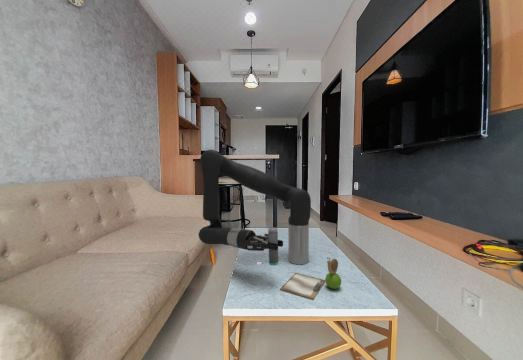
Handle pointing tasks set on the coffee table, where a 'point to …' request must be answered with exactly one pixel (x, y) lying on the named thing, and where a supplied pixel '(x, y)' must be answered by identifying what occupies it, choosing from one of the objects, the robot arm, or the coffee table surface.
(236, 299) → the coffee table surface
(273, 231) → the cylinder
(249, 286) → the coffee table surface
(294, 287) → the clipboard
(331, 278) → the snail figurine
